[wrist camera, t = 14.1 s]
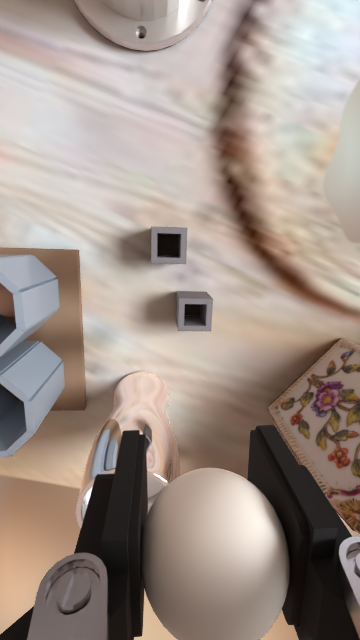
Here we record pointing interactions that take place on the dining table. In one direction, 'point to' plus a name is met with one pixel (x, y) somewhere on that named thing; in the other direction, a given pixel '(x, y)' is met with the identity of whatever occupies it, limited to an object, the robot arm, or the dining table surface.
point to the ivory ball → (214, 558)
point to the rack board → (62, 324)
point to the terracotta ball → (6, 302)
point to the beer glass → (149, 418)
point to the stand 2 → (194, 321)
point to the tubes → (27, 351)
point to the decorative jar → (327, 426)
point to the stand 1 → (181, 245)
